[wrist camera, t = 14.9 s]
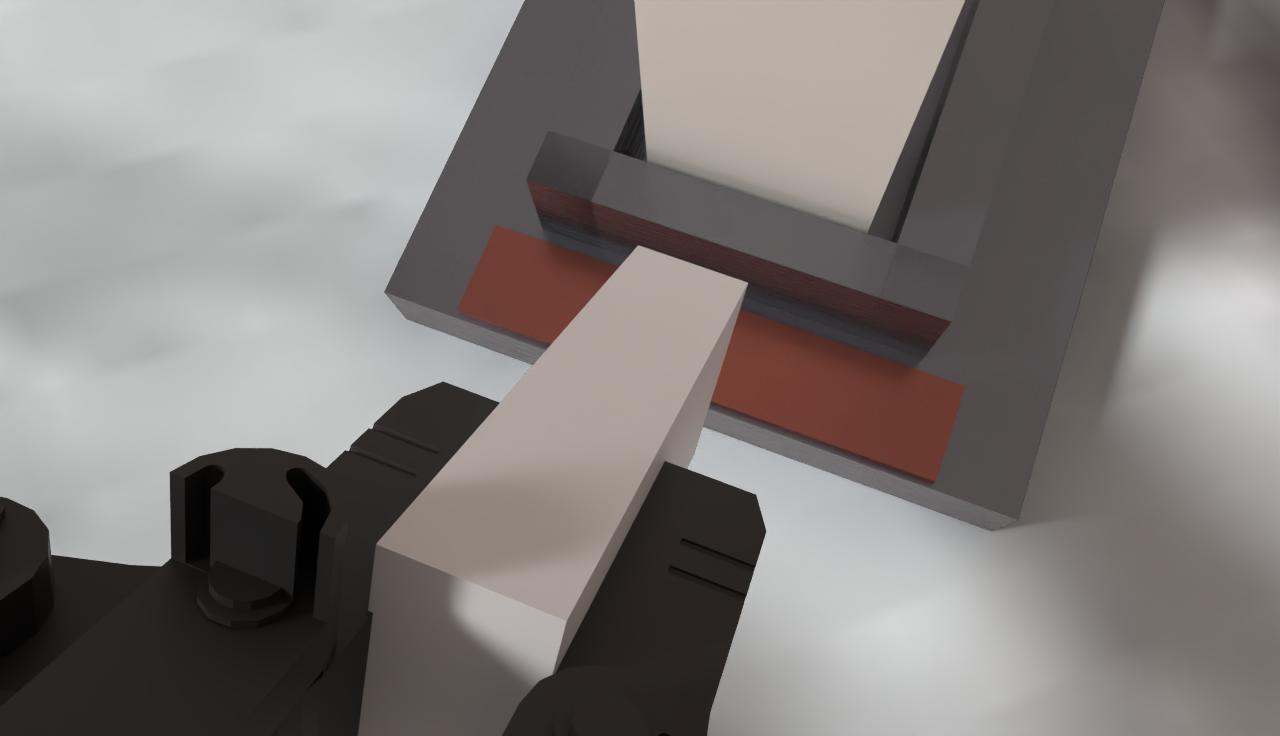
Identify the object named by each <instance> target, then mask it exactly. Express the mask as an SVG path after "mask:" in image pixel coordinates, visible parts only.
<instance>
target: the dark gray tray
mask: <svg viewBox="0 0 1280 736" xmlns="http://www.w3.org/2000/svg"><path fill="white" fill-rule="evenodd" d="M1163 4H1164V0H965V2H964V4H963V7H962V9H961V11H960V14H959V16H958V19H957V21H956V23H955V26H954V28H953V30H952V33H951V35H950V38H949V40H948V42H947V45H946V47H945V49H944V52H943V54H942V57H941V59H940V61H939V64H938V66H937V68H936V71H935V73H934V76H933V78H932V80H931V83H930V85H929V87H928V90H927V92H926V95H925V97H924V99H923V102H922V104H921V106H920V109H919V111H918V114H917V116H916V118H915V121H914V123H913V125H912V128H911V130H910V133H909V135H908V137H907V140H906V142H905V144H904V147H903V149H902V152H901V154H900V156H899V159H898V161H897V164H896V166H895V168H894V171H893V173H892V175H891V178H890V180H889V183H888V185H887V187H886V190H885V192H884V194H883V197H882V199H881V202H880V204H879V206H878V209H877V211H876V213H875V216H874V218H873V221H872V223H871V225H870V228H869V230H868V232H867V234H866V233H863V232H860V231H857V230H854V229H851V228H848V227H845V226H842V225H839V224H836V223H833V222H830V221H826V220H823V219H820V218H817V217H814V216H811V215H808V214H805V213H802V212H799V211H796V210H793V209H790V208H787V207H783V206H780V205H777V204H774V203H771V202H768V201H765V200H762V199H759V198H756V197H753V196H750V195H747V194H743V193H740V192H737V191H734V190H731V189H728V188H725V187H722V186H719V185H716V184H713V183H710V182H707V181H703V180H700V179H697V178H694V177H691V176H688V175H685V174H682V173H679V172H676V171H673V170H670V169H667V168H663V167H660V166H657V165H654V164H651V163H648V162H647V153H646V140H645V128H644V115H643V103H642V90H641V77H640V65H639V52H638V40H637V27H636V14H635V2H634V0H525V1H524V3H523V5H522V7H521V9H520V11H519V14H518V16H517V18H516V20H515V22H514V24H513V26H512V28H511V30H510V32H509V34H508V36H507V38H506V40H505V43H504V45H503V47H502V49H501V51H500V53H499V55H498V57H497V59H496V61H495V63H494V65H493V67H492V70H491V72H490V74H489V76H488V78H487V80H486V82H485V84H484V86H483V88H482V90H481V92H480V94H479V97H478V99H477V101H476V103H475V105H474V107H473V109H472V111H471V113H470V115H469V117H468V119H467V121H466V123H465V126H464V128H463V130H462V132H461V134H460V136H459V138H458V140H457V142H456V144H455V146H454V148H453V150H452V153H451V155H450V157H449V159H448V161H447V163H446V165H445V167H444V169H443V171H442V173H441V175H440V177H439V180H438V182H437V184H436V186H435V188H434V190H433V192H432V194H431V196H430V198H429V200H428V202H427V204H426V206H425V209H424V211H423V213H422V215H421V217H420V219H419V221H418V223H417V225H416V227H415V229H414V231H413V233H412V236H411V238H410V240H409V242H408V244H407V246H406V248H405V250H404V252H403V254H402V256H401V258H400V260H399V262H398V265H397V267H396V269H395V271H394V273H393V275H392V277H391V279H390V281H389V283H388V285H387V287H386V289H385V294H386V295H387V296H388V297H389V299H390V300H391V301H392V302H393V303H394V305H395V306H396V307H397V308H398V310H399V311H400V312H401V313H402V314H403V316H404V317H405V318H406V319H408V320H411V321H414V322H416V323H419V324H422V325H425V326H427V327H430V328H433V329H436V330H438V331H441V332H444V333H447V334H449V335H452V336H455V337H458V338H460V339H463V340H466V341H469V342H472V343H474V344H477V345H480V346H483V347H485V348H488V349H491V350H494V351H496V352H499V353H502V354H505V355H507V356H510V357H513V358H516V359H518V360H521V361H524V362H527V363H529V364H532V365H534V364H535V362H536V361H537V360H538V359H539V358H540V357H541V356H542V354H543V353H544V352H545V351H546V350H547V349H548V348H549V347H550V345H551V344H552V343H553V342H554V341H555V340H556V339H557V337H558V336H559V335H560V334H561V333H562V332H563V331H564V329H565V328H566V327H567V326H568V325H569V324H570V323H571V321H572V320H573V319H574V318H575V317H576V316H577V315H578V313H579V312H580V311H581V310H582V309H583V308H584V307H585V305H586V304H587V303H588V302H589V301H590V300H591V299H592V298H593V296H594V295H595V294H596V293H597V292H598V291H599V290H600V288H601V287H602V286H603V285H604V284H605V283H606V282H607V280H608V279H609V278H610V277H611V276H612V275H613V274H614V272H615V271H616V270H617V269H618V268H619V267H620V266H621V264H622V263H623V262H624V261H625V260H626V259H627V258H628V257H629V255H630V254H631V253H632V252H633V251H634V250H635V249H636V247H637V246H638V245H639V246H642V247H645V248H648V249H651V250H654V251H656V252H659V253H662V254H665V255H668V256H671V257H674V258H677V259H680V260H683V261H686V262H689V263H692V264H695V265H698V266H700V267H703V268H706V269H709V270H712V271H715V272H718V273H721V274H724V275H727V276H730V277H733V278H736V279H739V280H742V281H745V282H747V283H748V285H747V289H746V292H745V295H744V298H743V301H742V304H741V307H740V311H739V314H738V317H737V320H736V323H735V326H734V330H733V333H732V336H731V339H730V342H729V345H728V349H727V352H726V355H725V358H724V361H723V364H722V367H721V371H720V374H719V377H718V380H717V383H716V386H715V390H714V393H713V396H712V399H711V402H710V405H709V408H708V412H707V415H706V418H705V421H704V424H703V427H706V428H708V429H711V430H714V431H717V432H720V433H722V434H725V435H728V436H731V437H733V438H736V439H739V440H742V441H744V442H747V443H750V444H753V445H755V446H758V447H761V448H764V449H766V450H769V451H772V452H775V453H777V454H780V455H783V456H786V457H788V458H791V459H794V460H797V461H799V462H802V463H805V464H808V465H810V466H813V467H816V468H819V469H821V470H824V471H827V472H830V473H832V474H835V475H838V476H841V477H844V478H846V479H849V480H852V481H855V482H857V483H860V484H863V485H866V486H868V487H871V488H874V489H877V490H879V491H882V492H885V493H888V494H890V495H893V496H896V497H899V498H901V499H904V500H907V501H910V502H912V503H915V504H918V505H921V506H923V507H926V508H929V509H932V510H934V511H937V512H940V513H943V514H945V515H948V516H951V517H954V518H956V519H959V520H962V521H965V522H968V523H970V524H973V525H976V526H979V527H981V528H984V529H987V530H990V531H994V530H996V529H998V528H1001V527H1003V526H1005V525H1008V524H1010V523H1012V522H1015V521H1017V520H1018V518H1019V514H1020V511H1021V507H1022V504H1023V500H1024V497H1025V493H1026V489H1027V486H1028V482H1029V479H1030V475H1031V472H1032V468H1033V465H1034V461H1035V458H1036V454H1037V450H1038V447H1039V443H1040V440H1041V436H1042V433H1043V429H1044V426H1045V422H1046V418H1047V415H1048V411H1049V408H1050V404H1051V401H1052V397H1053V394H1054V390H1055V387H1056V383H1057V379H1058V376H1059V372H1060V369H1061V365H1062V362H1063V358H1064V355H1065V351H1066V348H1067V344H1068V340H1069V337H1070V333H1071V330H1072V326H1073V323H1074V319H1075V316H1076V312H1077V309H1078V305H1079V301H1080V298H1081V294H1082V291H1083V287H1084V284H1085V280H1086V277H1087V273H1088V270H1089V266H1090V262H1091V259H1092V255H1093V252H1094V248H1095V245H1096V241H1097V238H1098V234H1099V231H1100V227H1101V223H1102V220H1103V216H1104V213H1105V209H1106V206H1107V202H1108V199H1109V195H1110V192H1111V188H1112V184H1113V181H1114V177H1115V174H1116V170H1117V167H1118V163H1119V160H1120V156H1121V153H1122V149H1123V145H1124V142H1125V138H1126V135H1127V131H1128V128H1129V124H1130V121H1131V117H1132V114H1133V110H1134V106H1135V103H1136V99H1137V96H1138V92H1139V89H1140V85H1141V82H1142V78H1143V74H1144V71H1145V67H1146V64H1147V60H1148V57H1149V53H1150V50H1151V46H1152V43H1153V39H1154V35H1155V32H1156V28H1157V25H1158V21H1159V18H1160V14H1161V11H1162V7H1163Z"/></svg>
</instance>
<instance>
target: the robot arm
mask: <svg viewBox="0 0 1280 736" xmlns="http://www.w3.org/2000/svg"><path fill="white" fill-rule="evenodd" d="M747 285H748V283H747V282H745V281H742V280H739V279H736V278H733V277H730V276H727V275H724V274H721V273H718V272H715V271H712V270H709V269H706V268H703V267H700V266H698V265H695V264H692V263H689V262H686V261H683V260H680V259H677V258H674V257H671V256H668V255H665V254H662V253H659V252H656V251H654V250H651V249H648V248H645V247H642V246H639V245H638V246H637V247H636V249H635V250H634V251H633V252H632V253H631V254H630V255H629V257H628V258H627V259H626V260H625V261H624V262H623V263H622V264H621V266H620V267H619V268H618V269H617V270H616V271H615V272H614V274H613V275H612V276H611V277H610V278H609V279H608V280H607V282H606V283H605V284H604V285H603V286H602V287H601V288H600V290H599V291H598V292H597V293H596V294H595V295H594V296H593V298H592V299H591V300H590V301H589V302H588V303H587V304H586V305H585V307H584V308H583V309H582V310H581V311H580V312H579V313H578V315H577V316H576V317H575V318H574V319H573V320H572V321H571V323H570V324H569V325H568V326H567V327H566V328H565V329H564V331H563V332H562V333H561V334H560V335H559V336H558V337H557V339H556V340H555V341H554V342H553V343H552V344H551V345H550V347H549V348H548V349H547V350H546V351H545V352H544V353H543V354H542V356H541V357H540V358H539V359H538V360H537V361H536V362H535V364H534V365H533V366H532V367H531V368H530V369H529V370H528V372H527V373H526V374H525V375H524V376H523V377H522V378H521V380H520V381H519V382H518V383H517V384H516V385H515V386H514V388H513V389H512V390H511V391H510V392H509V393H508V394H507V395H506V397H505V398H504V399H503V400H502V401H501V402H500V403H499V402H496V401H494V400H491V399H488V398H486V397H483V396H480V395H478V394H475V393H472V392H470V391H467V390H464V389H462V388H459V387H456V386H453V385H451V384H448V383H445V382H441V383H438V384H436V385H433V386H431V387H428V388H425V389H423V390H420V391H417V392H415V393H412V394H410V395H407V396H404V397H402V398H401V399H400V400H399V401H398V402H397V403H396V404H394V405H393V406H392V407H391V408H390V409H389V410H388V411H387V412H386V413H385V414H384V415H383V416H382V417H381V418H379V419H378V420H377V421H376V422H375V423H374V426H373V428H372V429H368V430H367V431H366V432H364V433H363V434H362V435H361V436H360V437H359V438H358V439H357V440H356V441H355V442H354V443H353V444H352V445H351V448H350V450H349V451H346V450H345V451H344V452H343V453H342V454H341V455H340V456H339V457H338V458H337V459H336V460H335V461H333V462H332V463H331V464H330V465H329V466H328V467H327V468H324V467H323V466H321V465H319V464H317V463H316V462H314V461H312V460H311V459H309V458H307V457H305V456H301V455H297V454H293V453H289V452H285V451H281V450H277V449H272V448H234V449H230V450H225V451H221V452H216V453H212V454H208V455H203V456H199V457H197V458H195V459H194V460H192V461H190V462H188V463H186V464H184V465H182V466H180V467H178V468H177V469H175V470H173V471H171V472H170V508H171V559H170V560H169V561H168V562H166V563H165V564H164V565H163V566H162V567H160V566H137V565H126V564H118V563H111V562H103V561H95V560H87V559H79V558H71V557H64V556H56V555H51V549H50V539H49V530H48V528H47V527H46V526H45V524H44V523H43V522H42V521H41V519H40V518H39V517H38V515H37V514H36V513H35V511H34V510H32V509H29V508H27V507H25V506H23V505H21V504H19V503H17V502H14V501H12V500H10V499H8V498H4V497H0V736H707V730H708V723H709V716H710V711H711V708H712V705H713V702H714V698H715V695H716V692H717V689H718V686H719V682H720V679H721V676H722V673H723V669H724V666H725V663H726V660H727V657H728V653H729V650H730V647H731V644H732V640H733V637H734V634H735V631H736V628H737V624H738V621H739V618H740V615H741V611H742V608H743V605H744V601H745V598H746V595H747V592H748V589H749V586H750V582H751V579H752V576H753V572H754V569H755V566H756V563H757V560H758V557H759V553H760V550H761V547H762V544H763V540H764V537H765V534H766V529H765V525H764V521H763V518H762V514H761V511H760V507H759V504H758V500H757V496H756V495H755V494H752V493H750V492H747V491H744V490H742V489H739V488H736V487H734V486H731V485H728V484H726V483H723V482H720V481H718V480H715V479H712V478H710V477H707V476H704V475H701V474H699V473H696V472H693V471H691V470H688V469H687V468H688V466H689V463H690V461H691V459H692V457H693V455H694V453H695V450H696V446H697V443H698V440H699V437H700V434H701V431H702V427H703V424H704V421H705V418H706V415H707V412H708V408H709V405H710V402H711V399H712V396H713V393H714V390H715V386H716V383H717V380H718V377H719V374H720V371H721V367H722V364H723V361H724V358H725V355H726V352H727V349H728V345H729V342H730V339H731V336H732V333H733V330H734V326H735V323H736V320H737V317H738V314H739V311H740V307H741V304H742V301H743V298H744V295H745V292H746V289H747Z"/></svg>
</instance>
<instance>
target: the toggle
mask: <svg viewBox="0 0 1280 736" xmlns="http://www.w3.org/2000/svg"><path fill="white" fill-rule="evenodd" d="M634 2H635V14H636V27H637V40H638V52H639V65H640V77H641V90H642V103H643V115H644V128H645V140H646V153H647V162H648V163H651V164H654V165H657V166H660V167H663V168H667V169H670V170H673V171H676V172H679V173H682V174H685V175H688V176H691V177H694V178H697V179H700V180H703V181H707V182H710V183H713V184H716V185H719V186H722V187H725V188H728V189H731V190H734V191H737V192H740V193H743V194H747V195H750V196H753V197H756V198H759V199H762V200H765V201H768V202H771V203H774V204H777V205H780V206H783V207H787V208H790V209H793V210H796V211H799V212H802V213H805V214H808V215H811V216H814V217H817V218H820V219H823V220H826V221H830V222H833V223H836V224H839V225H842V226H845V227H848V228H851V229H854V230H857V231H860V232H863V233H866V234H867V232H868V230H869V228H870V225H871V223H872V221H873V218H874V216H875V213H876V211H877V209H878V206H879V204H880V202H881V199H882V197H883V194H884V192H885V190H886V187H887V185H888V183H889V180H890V178H891V175H892V173H893V171H894V168H895V166H896V164H897V161H898V159H899V156H900V154H901V152H902V149H903V147H904V144H905V142H906V140H907V137H908V135H909V133H910V130H911V128H912V125H913V123H914V121H915V118H916V116H917V114H918V111H919V109H920V106H921V104H922V102H923V99H924V97H925V95H926V92H927V90H928V87H929V85H930V83H931V80H932V78H933V76H934V73H935V71H936V68H937V66H938V64H939V61H940V59H941V57H942V54H943V52H944V49H945V47H946V45H947V42H948V40H949V38H950V35H951V33H952V30H953V28H954V26H955V23H956V21H957V19H958V16H959V14H960V11H961V9H962V7H963V4H964V2H965V0H634Z"/></svg>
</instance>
